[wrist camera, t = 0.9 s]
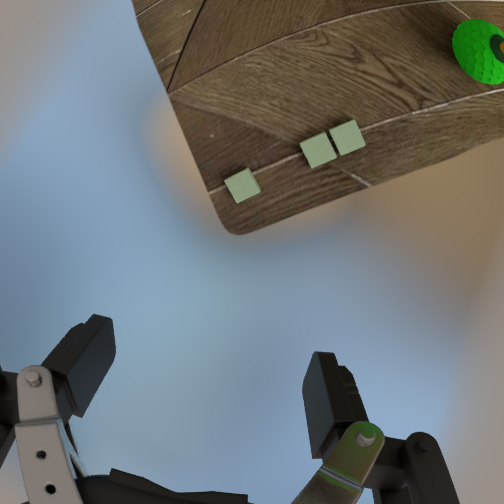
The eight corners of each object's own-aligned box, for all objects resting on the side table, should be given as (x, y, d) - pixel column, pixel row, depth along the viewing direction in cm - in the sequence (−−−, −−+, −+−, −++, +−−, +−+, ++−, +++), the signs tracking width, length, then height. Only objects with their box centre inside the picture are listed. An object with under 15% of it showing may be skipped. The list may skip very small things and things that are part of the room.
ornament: (431, 25, 22) (471, 7, 13) (478, 26, 20) (522, 15, 11) (452, 86, 25) (497, 86, 16) (496, 83, 23) (544, 86, 14)
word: (225, 178, 35) (223, 180, 34) (352, 119, 30) (354, 119, 29) (238, 201, 36) (236, 203, 36) (364, 144, 31) (366, 145, 30)
